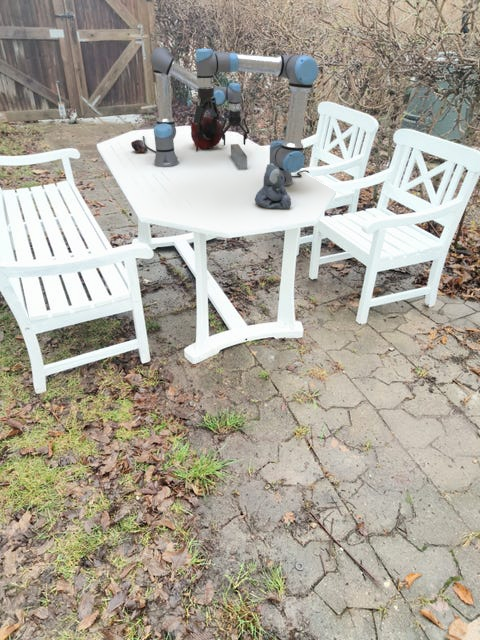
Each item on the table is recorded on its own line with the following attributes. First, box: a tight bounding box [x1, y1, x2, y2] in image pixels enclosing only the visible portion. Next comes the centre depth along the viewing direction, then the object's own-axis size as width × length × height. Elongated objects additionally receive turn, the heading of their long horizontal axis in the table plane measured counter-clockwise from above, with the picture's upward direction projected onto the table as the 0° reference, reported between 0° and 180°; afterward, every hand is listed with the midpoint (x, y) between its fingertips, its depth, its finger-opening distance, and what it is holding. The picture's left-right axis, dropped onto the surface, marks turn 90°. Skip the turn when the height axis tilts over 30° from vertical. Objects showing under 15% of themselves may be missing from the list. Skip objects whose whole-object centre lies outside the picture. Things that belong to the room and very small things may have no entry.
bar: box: [230, 143, 248, 171], centre depth 293 cm, size 32×5×8 cm, turn 10°
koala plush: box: [254, 162, 292, 210], centre depth 225 cm, size 17×18×20 cm
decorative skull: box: [189, 116, 224, 152], centre depth 324 cm, size 21×24×25 cm
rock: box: [130, 139, 149, 153], centre depth 317 cm, size 12×9×10 cm
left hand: (234, 144), depth 302 cm, fingers open, 13 cm apart
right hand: (207, 136), depth 220 cm, fingers open, 13 cm apart
